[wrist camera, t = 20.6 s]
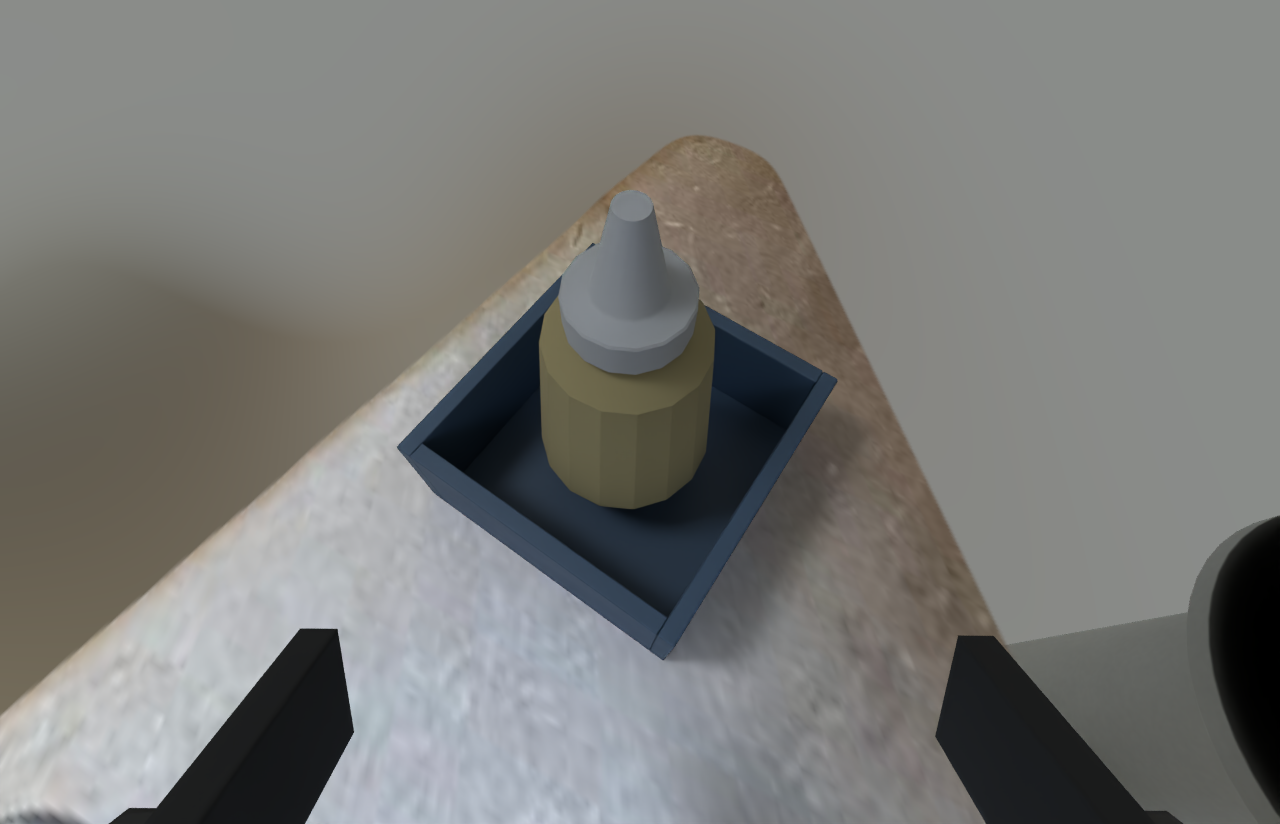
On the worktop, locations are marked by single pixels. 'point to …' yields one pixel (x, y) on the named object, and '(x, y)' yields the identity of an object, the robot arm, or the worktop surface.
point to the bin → (606, 536)
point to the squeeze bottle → (626, 366)
